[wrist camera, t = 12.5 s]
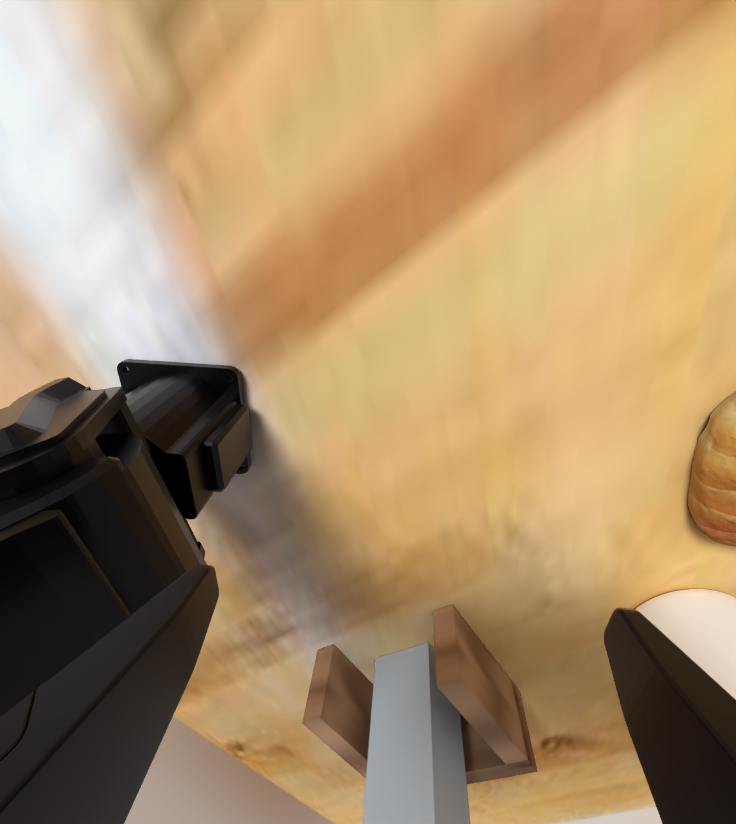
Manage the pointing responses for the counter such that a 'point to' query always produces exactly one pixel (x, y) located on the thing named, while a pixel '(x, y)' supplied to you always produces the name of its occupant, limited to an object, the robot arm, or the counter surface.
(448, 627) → the brown wooden tray
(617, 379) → the counter surface
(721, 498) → the pastry
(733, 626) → the pill bottle
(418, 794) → the block
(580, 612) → the counter surface
